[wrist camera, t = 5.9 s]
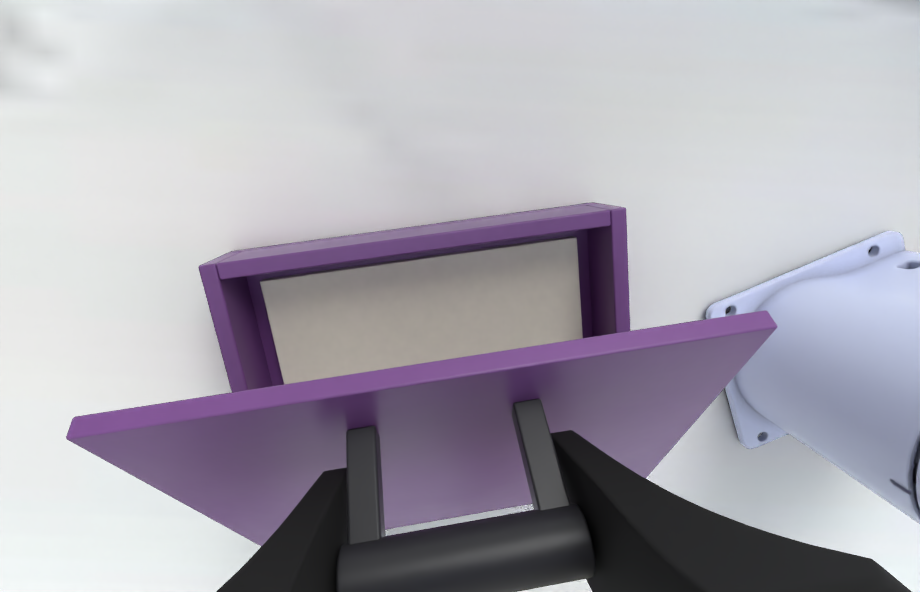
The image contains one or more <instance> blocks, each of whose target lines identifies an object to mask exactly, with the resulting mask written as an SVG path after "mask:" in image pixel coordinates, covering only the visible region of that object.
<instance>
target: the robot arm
mask: <svg viewBox="0 0 920 592" xmlns="http://www.w3.org/2000/svg"><path fill="white" fill-rule="evenodd" d="M870 248H871V251H870V253H869V254H868V251H869V249H870ZM729 306H731V310H730V311H729V313H727V314H725V310H726V309H727V307H729ZM764 310H766V311H768V312H769V314H770V315H771V317H772V318H773V320H774V321H775V323H776V324H777V329H776V330H775V331H774V332H773V333H772V334H771V335H770V337H769V338H768V339H767V340H766V341H765V342H764V343H763V345H762V346H761V347H760V348H759V349H758V350H757V351H756V353H755V354H754V355H753V356H752V357H751V358H750V359H749V361H748V362H747V363H746V364H745V365H744V366H743V367H742V369H741V370H740V371H739V372H738V373H737V374H736V375H735V377H734V378H733V379H732V380H731V381H730V382H729V383H728V385H727V386H726V387H725V390H726V394H727V397H728V401H729V405H730V408H731V412H732V416H733V420H734V423H735V427H736V431H737V434H738V438H739V441H740V443H741V444H742V445H743V446H744V447H746V448H747V449H754V448H756V447H759V446H761V445H764V444H766V443H768V442H771V441H773V440H776V439H778V438H780V437H783V436H785V435H788V434H790V435H791V436H793V437H794V438H796V439H797V440H799V441H800V442H802V443H803V444H804V445H806V446H807V447H809V448H810V449H812V450H813V451H815V452H816V453H818V454H819V455H820V456H822V457H823V458H825V459H826V460H828V461H829V462H831V463H832V464H834V465H835V466H836V467H838V468H839V469H841V470H842V471H844V472H845V473H847V474H848V475H849V476H851V477H852V478H854V479H855V480H857V481H858V482H860V483H861V484H863V485H864V486H865V487H867V488H868V489H870V490H871V491H873V492H874V493H876V494H877V495H878V496H880V497H881V498H883V499H884V500H886V501H887V502H889V503H890V504H892V505H893V506H894V507H896V508H897V509H899V510H900V511H902V512H903V513H905V514H906V515H908V516H909V517H910V518H912V519H913V520H915V521H916V522H918V523H919V524H920V253H917V252H911V251H905V247H904V239H903V236H902V234H901V233H900V232H896V231H886V232H883V233H881V234H878V235H876V236H874V237H871V238H869V239H866V240H864V241H862V242H859V243H857V244H855V245H852V246H850V247H847V248H845V249H843V250H840V251H838V252H835V253H833V254H831V255H828V256H826V257H824V258H821V259H819V260H816V261H814V262H812V263H809V264H807V265H804V266H802V267H800V268H797V269H795V270H792V271H790V272H788V273H785V274H783V275H781V276H778V277H776V278H773V279H771V280H769V281H766V282H764V283H761V284H759V285H757V286H754V287H752V288H750V289H747V290H745V291H742V292H740V293H738V294H735V295H733V296H730V297H728V298H726V299H723V300H721V301H719V302H716V303H714V304H712V305H711V306H709V308H708V309H707V311H706V319H712V318H718V317H725V316H731V315H738V314H744V313H751V312H757V311H764ZM761 432H762V434H761V435H760V436H759V437H758V435H759V434H760V433H761ZM551 437H552V440H553V444H554V447H555V451H556V454H557V458H558V461H559V465H560V469H561V472H562V476H563V479H564V483H565V486H566V490H567V493H568V497H569V500H570V503H575V504H577V505H578V506H579V507H580V509H581V511H582V513H583V515H584V517H585V519H586V522H587V524H588V527H589V531H590V534H591V538H592V542H593V546H594V552H595V559H596V572H595V575H594V576H593V577H591V578H586V579H587V581H588V583H589V586H590V588H591V590H592V592H911V591H910V590H909V589H908V588H907V587H905V586H904V585H903V584H902V583H901V582H899V581H898V580H897V579H896V578H895V577H893V576H892V575H891V574H890V573H889V572H887V571H886V570H885V569H884V568H883V567H881V566H880V565H879V564H877V563H876V562H875V561H874V560H872V559H870V558H865V557H861V556H857V555H852V554H848V553H844V552H839V551H835V550H831V549H826V548H822V547H818V546H813V545H810V544H806V543H802V542H799V541H795V540H792V539H789V538H785V537H782V536H779V535H775V534H772V533H769V532H766V531H763V530H760V529H757V528H754V527H751V526H748V525H745V524H743V523H740V522H737V521H735V520H732V519H729V518H727V517H724V516H721V515H719V514H716V513H714V512H712V511H709V510H707V509H704V508H702V507H700V506H698V505H696V504H694V503H691V502H689V501H687V500H685V499H683V498H681V497H679V496H677V495H675V494H673V493H671V492H669V491H667V490H665V489H663V488H661V487H659V486H658V485H656V484H654V483H652V482H651V481H649V480H647V479H645V478H644V477H642V476H640V475H638V474H637V473H635V472H634V471H632V470H630V469H629V468H627V467H626V466H624V465H622V464H621V463H619V462H618V461H616V460H615V459H613V458H612V457H610V456H609V455H607V454H606V453H604V452H603V451H601V450H600V449H599V448H597V447H596V446H594V445H593V444H591V443H590V442H589V441H587V440H586V439H584V438H583V437H581V436H580V435H579V434H577V433H576V432H574V431H573V430H568V431H562V432H556V433H551ZM345 543H348V535H347V467H346V468H340V469H334V470H328V471H324V472H323V473H322V474H321V475H320V476H319V478H318V479H317V480H316V481H315V483H314V484H313V485H312V487H311V488H310V489H309V490H308V492H307V493H306V494H305V495H304V497H303V498H302V499H301V501H300V502H299V503H298V504H297V506H296V507H295V508H294V509H293V511H292V512H291V513H290V514H289V516H288V517H287V518H286V519H285V520H284V522H283V523H282V524H281V525H280V526H279V528H278V529H277V530H276V531H275V532H274V533H273V534H272V535H271V537H270V538H269V539H268V540H267V541H266V542H265V543H264V544H263V545H262V547H261V548H260V549H259V550H258V551H257V552H256V553H255V554H254V555H253V557H252V558H251V559H250V560H249V561H248V562H247V563H246V564H245V565H244V566H243V567H242V568H241V569H240V570H239V571H238V572H237V573H236V574H235V575H234V576H233V577H232V578H230V579H229V580H228V581H227V582H226V583H225V584H224V585H223V586H222V587H221V588H220V589H219V590H218V591H217V592H337V589H336V568H337V559H338V554H339V550H340V547H341V546H342V545H343V544H345Z"/></svg>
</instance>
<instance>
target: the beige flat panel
mask: <svg viewBox="0 0 920 592" xmlns="http://www.w3.org/2000/svg"><path fill="white" fill-rule="evenodd" d="M260 285H261V289H262V293H263V297H264V302H265V306H266V310H267V314H268V319H269V323H270V327H271V331H272V335H273V340H274V344H275V348H276V352H277V356H278V361H279V365H280V369H281V373H282V378H283V382H284V384H291V383H297V382H304V381H310V380H317V379H323V378H330V377H336V376H342V375H349V374H355V373H362V372H368V371H375V370H381V369H388V368H394V367H401V366H407V365H414V364H420V363H427V362H433V361H440V360H446V359H453V358H459V357H466V356H472V355H479V354H485V353H491V352H498V351H504V350H511V349H517V348H524V347H530V346H537V345H543V344H550V343H556V342H563V341H569V340H576V339H582V338H583V333H582V317H581V300H580V283H579V267H578V250H577V238H576V237H574V236H568V237H561V238H554V239H547V240H540V241H533V242H525V243H518V244H511V245H504V246H497V247H490V248H482V249H475V250H468V251H461V252H454V253H446V254H439V255H432V256H425V257H418V258H411V259H403V260H396V261H389V262H382V263H375V264H368V265H360V266H353V267H346V268H339V269H332V270H324V271H317V272H310V273H303V274H296V275H289V276H281V277H274V278H267V279H263V280H262V281H260Z"/></svg>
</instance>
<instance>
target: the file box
mask: <svg viewBox="0 0 920 592" xmlns="http://www.w3.org/2000/svg"><path fill="white" fill-rule="evenodd" d="M568 236H574V237H576V238H577V250H578V267H579V283H580V300H581V317H582V333H583V338H589V337H595V336H602V335H608V334H615V333H621V332H628V331H630V315H629V284H628V254H627V223H626V208H624V207H618V206H612V205H606V204H600V203H594V202H593V203H585V204H578V205H570V206H563V207H556V208H548V209H541V210H533V211H526V212H519V213H511V214H504V215H496V216H489V217H481V218H474V219H467V220H459V221H452V222H444V223H437V224H430V225H422V226H415V227H407V228H400V229H393V230H385V231H378V232H370V233H363V234H356V235H348V236H341V237H333V238H326V239H318V240H311V241H304V242H296V243H289V244H281V245H274V246H267V247H259V248H252V249H244V250H237V251H231V252H229V253H227V254H224V255H222V256H220V257H218V258H215V259H213V260H211V261H209V262H207V263H204V264H202V265H200V266H199V271H200V275H201V279H202V282H203V286H204V290H205V294H206V297H207V301H208V305H209V308H210V312H211V316H212V320H213V323H214V327H215V331H216V334H217V338H218V342H219V346H220V349H221V353H222V357H223V360H224V364H225V368H226V372H227V375H228V379H229V383H230V387H231V390H232V392H239V391H245V390H252V389H258V388H265V387H271V386H278V385H284V382H283V378H282V373H281V369H280V365H279V361H278V356H277V352H276V348H275V344H274V340H273V335H272V331H271V327H270V323H269V319H268V314H267V310H266V306H265V302H264V297H263V293H262V289H261V285H260V281H262V280H263V279H267V278H274V277H281V276H289V275H296V274H303V273H310V272H317V271H324V270H332V269H339V268H346V267H353V266H360V265H368V264H375V263H382V262H389V261H396V260H403V259H411V258H418V257H425V256H432V255H439V254H446V253H454V252H461V251H468V250H475V249H482V248H490V247H497V246H504V245H511V244H518V243H525V242H533V241H540V240H547V239H554V238H561V237H568Z"/></svg>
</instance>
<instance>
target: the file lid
mask: <svg viewBox="0 0 920 592" xmlns="http://www.w3.org/2000/svg"><path fill="white" fill-rule="evenodd" d="M776 329H777V324H776V323H775V321H774V320H773V318H772V317H771V315H770V314H769V312H768V311H766V310H764V311H757V312H751V313H744V314H738V315H731V316H725V317H718V318H712V319H705V320H699V321H692V322H686V323H679V324H673V325H666V326H660V327H653V328H647V329H640V330H634V331H628V332H621V333H615V334H608V335H602V336H595V337H589V338H582V339H576V340H569V341H563V342H556V343H550V344H543V345H537V346H530V347H524V348H517V349H511V350H504V351H498V352H491V353H485V354H479V355H472V356H466V357H459V358H453V359H446V360H440V361H433V362H427V363H420V364H414V365H407V366H401V367H394V368H388V369H381V370H375V371H368V372H362V373H355V374H349V375H342V376H336V377H330V378H323V379H317V380H310V381H304V382H297V383H291V384H284V385H278V386H271V387H265V388H258V389H252V390H245V391H239V392H232V393H226V394H219V395H213V396H206V397H200V398H193V399H187V400H181V401H174V402H168V403H161V404H155V405H148V406H142V407H135V408H129V409H122V410H116V411H109V412H103V413H96V414H90V415H83V416H77V417H74V418H73V419H72V422H71V425H70V428H69V430H68V433H67V436H66V438H67V440H69V441H71V442H73V443H75V444H76V445H78V446H80V447H82V448H84V449H85V450H87V451H89V452H91V453H93V454H95V455H96V456H98V457H100V458H102V459H104V460H105V461H107V462H109V463H111V464H113V465H115V466H116V467H118V468H120V469H122V470H124V471H125V472H127V473H129V474H131V475H133V476H135V477H136V478H138V479H140V480H142V481H144V482H145V483H147V484H149V485H151V486H153V487H154V488H156V489H158V490H160V491H162V492H164V493H165V494H167V495H169V496H171V497H173V498H174V499H176V500H178V501H180V502H182V503H184V504H185V505H187V506H189V507H191V508H193V509H194V510H196V511H198V512H200V513H202V514H204V515H205V516H207V517H209V518H211V519H213V520H214V521H216V522H218V523H220V524H222V525H224V526H225V527H227V528H229V529H231V530H233V531H234V532H236V533H238V534H240V535H242V536H244V537H245V538H247V539H249V540H251V541H253V542H254V543H256V544H258V545H260V546H262V545H263V544H264V543H265V542H266V541H267V540H268V539H269V538H270V537H271V535H272V534H273V533H274V532H275V531H276V530H277V529H278V528H279V526H280V525H281V524H282V523H283V522H284V520H285V519H286V518H287V517H288V516H289V514H290V513H291V512H292V511H293V509H294V508H295V507H296V506H297V504H298V503H299V502H300V501H301V499H302V498H303V497H304V495H305V494H306V493H307V492H308V490H309V489H310V488H311V487H312V485H313V484H314V483H315V481H316V480H317V479H318V478H319V476H320V475H321V474H322V473H323V472H324V471H328V470H334V469H340V468H346V467H347V535H348V543H345V544H343V545H342V546H341V547H340V550H339V554H338V559H337V568H336V589H337V592H517V591H523V590H528V589H533V588H539V587H544V586H549V585H554V584H560V583H565V582H570V581H576V580H581V579H586V578H591V577H593V576H594V575H595V572H596V559H595V552H594V546H593V542H592V538H591V534H590V531H589V527H588V524H587V522H586V519H585V517H584V515H583V513H582V511H581V509H580V507H579V506H578V505H577V504H575V503H570V500H569V497H568V493H567V490H566V486H565V483H564V479H563V476H562V472H561V469H560V465H559V461H558V458H557V454H556V451H555V447H554V444H553V440H552V437H551V433H556V432H562V431H568V430H573V431H574V432H576V433H577V434H579V435H580V436H581V437H583V438H584V439H586V440H587V441H589V442H590V443H591V444H593V445H594V446H596V447H597V448H599V449H600V450H601V451H603V452H604V453H606V454H607V455H609V456H610V457H612V458H613V459H615V460H616V461H618V462H619V463H621V464H622V465H624V466H626V467H627V468H629V469H630V470H632V471H634V472H635V473H637V474H638V475H640V476H642V477H644V478H646V477H647V476H648V475H649V474H650V473H651V472H652V470H653V469H654V468H655V467H656V466H657V465H658V464H659V462H660V461H661V460H662V459H663V458H664V457H665V456H666V454H667V453H668V452H669V451H670V450H671V449H672V448H673V446H674V445H675V444H676V443H677V442H678V441H679V440H680V438H681V437H682V436H683V435H684V434H685V433H686V432H687V430H688V429H689V428H690V427H691V426H692V425H693V424H694V422H695V421H696V420H697V419H698V418H699V417H700V416H701V414H702V413H703V412H704V411H705V410H706V409H707V408H708V406H709V405H710V404H711V403H712V402H713V401H714V400H715V398H716V397H717V396H718V395H719V394H720V393H721V391H722V390H723V389H724V388H725V387H726V386H727V385H728V383H729V382H730V381H731V380H732V379H733V378H734V377H735V375H736V374H737V373H738V372H739V371H740V370H741V369H742V367H743V366H744V365H745V364H746V363H747V362H748V361H749V359H750V358H751V357H752V356H753V355H754V354H755V353H756V351H757V350H758V349H759V348H760V347H761V346H762V345H763V343H764V342H765V341H766V340H767V339H768V338H769V337H770V335H771V334H772V333H773V332H774V331H775V330H776ZM532 503H533V507H534V510H531V511H525V512H520V513H514V514H508V515H503V516H497V517H492V518H486V519H480V520H475V521H469V522H463V523H458V524H452V525H447V526H441V527H435V528H430V529H424V530H419V531H413V532H407V533H402V534H396V535H390V536H385V529H391V528H397V527H402V526H408V525H414V524H419V523H425V522H431V521H436V520H442V519H448V518H453V517H459V516H465V515H470V514H476V513H482V512H487V511H493V510H498V509H504V508H510V507H515V506H521V505H527V504H532Z"/></svg>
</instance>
